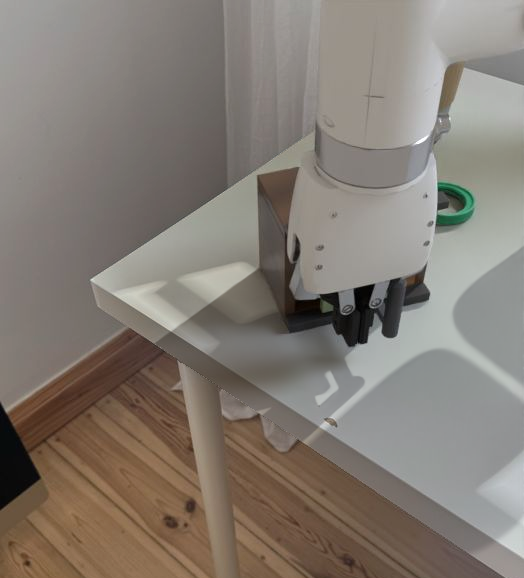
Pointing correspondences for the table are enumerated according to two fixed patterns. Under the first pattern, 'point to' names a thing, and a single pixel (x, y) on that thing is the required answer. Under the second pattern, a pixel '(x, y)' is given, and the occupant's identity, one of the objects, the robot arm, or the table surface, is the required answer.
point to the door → (385, 309)
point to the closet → (279, 270)
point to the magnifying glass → (463, 196)
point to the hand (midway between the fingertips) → (351, 333)
